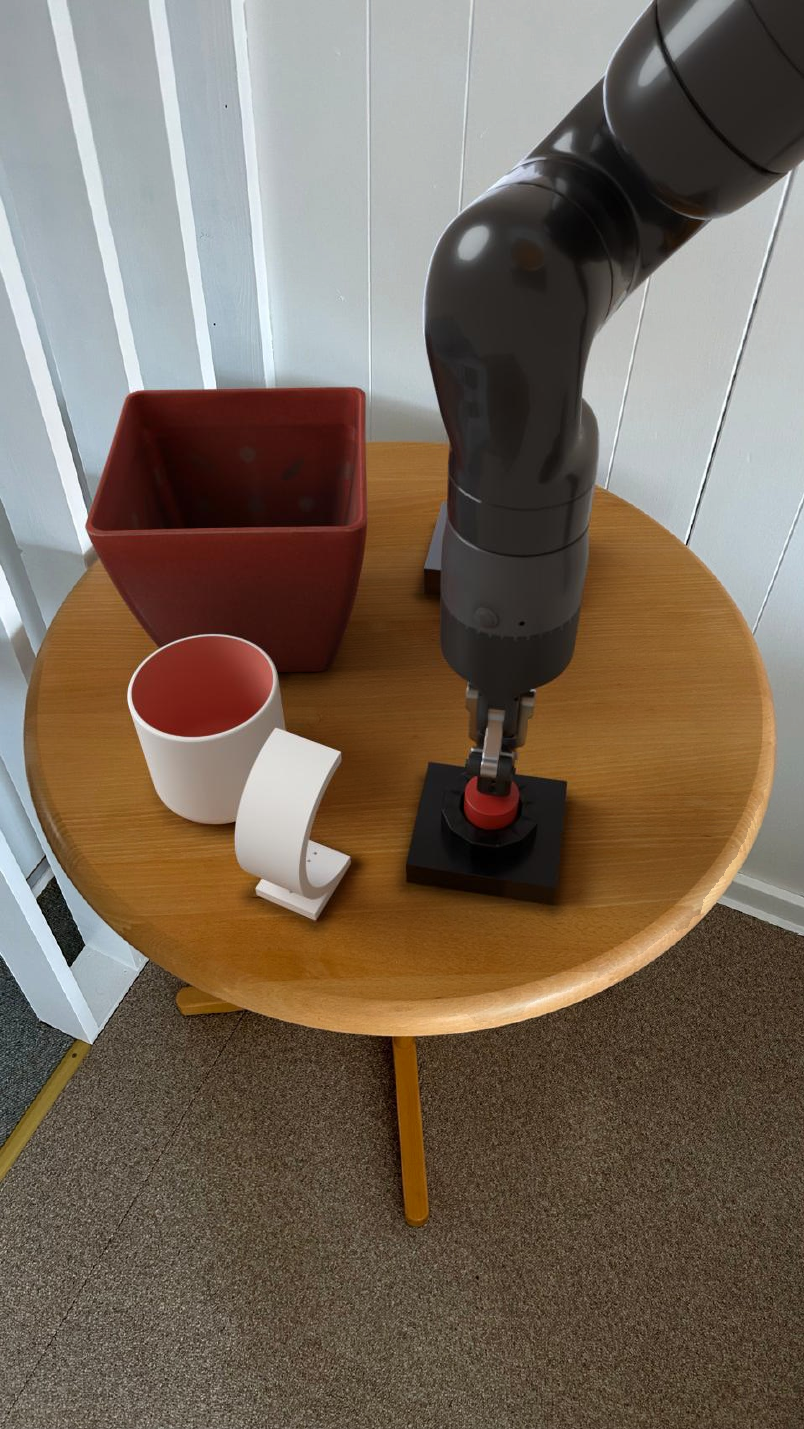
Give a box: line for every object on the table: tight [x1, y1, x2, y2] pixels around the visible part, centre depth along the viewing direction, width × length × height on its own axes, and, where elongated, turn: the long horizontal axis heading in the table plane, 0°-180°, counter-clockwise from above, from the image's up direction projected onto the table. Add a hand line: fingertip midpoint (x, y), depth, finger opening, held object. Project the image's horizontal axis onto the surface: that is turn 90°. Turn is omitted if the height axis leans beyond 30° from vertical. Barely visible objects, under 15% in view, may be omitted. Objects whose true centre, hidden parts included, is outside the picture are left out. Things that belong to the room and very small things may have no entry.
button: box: [464, 776, 519, 830], centre depth 65 cm, size 4×4×2 cm
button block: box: [405, 761, 568, 906], centre depth 67 cm, size 10×9×4 cm
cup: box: [127, 634, 287, 825], centre depth 68 cm, size 10×10×10 cm
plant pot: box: [84, 386, 368, 673], centre depth 77 cm, size 19×19×17 cm
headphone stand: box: [234, 728, 352, 922], centre depth 61 cm, size 5×6×12 cm
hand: (494, 786), depth 64 cm, fingers closed
